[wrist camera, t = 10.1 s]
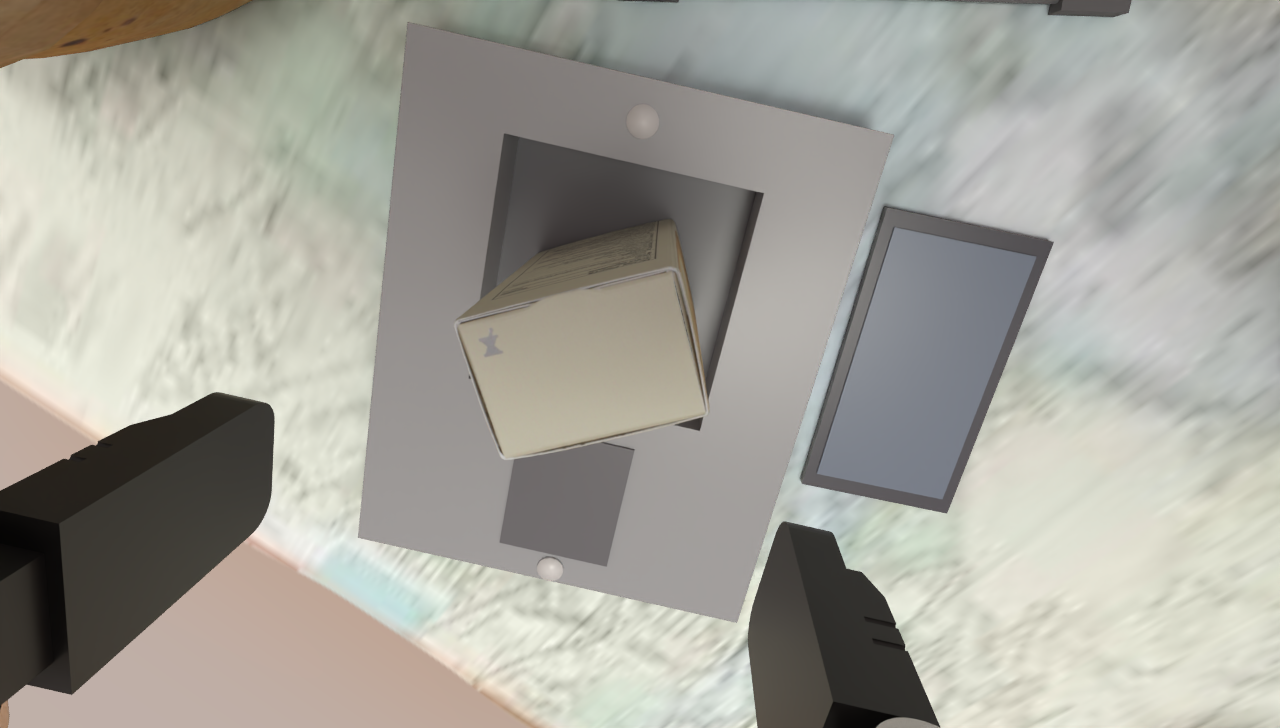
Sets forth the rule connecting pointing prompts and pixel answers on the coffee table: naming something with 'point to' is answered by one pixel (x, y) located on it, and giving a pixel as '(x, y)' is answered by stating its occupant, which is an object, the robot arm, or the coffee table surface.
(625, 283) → the skincare box
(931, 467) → the phone
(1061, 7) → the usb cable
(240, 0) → the potted plant
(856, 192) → the gray recessed tray
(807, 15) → the coffee table surface
